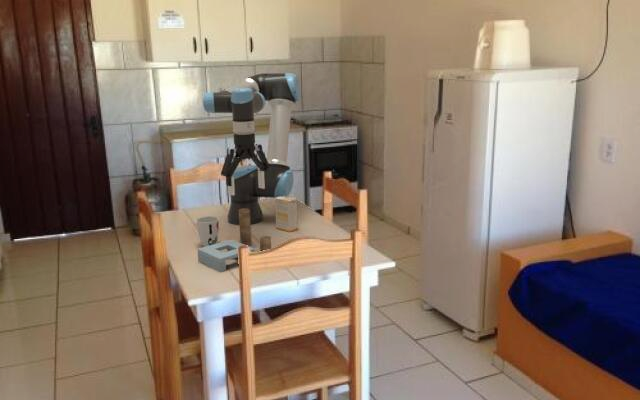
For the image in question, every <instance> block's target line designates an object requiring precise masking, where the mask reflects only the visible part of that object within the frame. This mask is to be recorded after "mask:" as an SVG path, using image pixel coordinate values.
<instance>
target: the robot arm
mask: <svg viewBox="0 0 640 400" xmlns="http://www.w3.org/2000/svg"><path fill="white" fill-rule="evenodd" d="M301 95H302V93H301V85H300V80H299V78H298V76H297V74H295V73H290V72H289V73H288V72H283V73H282V72H280V73H278V72H277V73H276V72H273V73H270V72H269V73H268V72H267V73H265V72H264V73H263V72H262V73H257V74H254V75H251V76H250V75H249V76H248V77H246V78H243V79H241V80H240V81H239V83H238V84H235V85H232V86H230V87H228V88H226V89H223V90H220V91H218V92H215V91H212V92H205V94H204V95H203V98H202V105H203V109H204V111H205V112H206V113H209V114H232V132H233V144H234V148H231V147H230V148H227V149H226V155H225V156H226V157H225V160H224V162H223V164H222V165H223V166H222V169H221V171H220V175H221V176H223V177H225V184H226V186H227V191H228V195H229V196H230V206H229V210H228V213H227V222H228V223H230V224H233V225H239V209H243V208H247V209H250V225H252V224H253V225H254V224H257V223H260V222H262V221H263V220H264V213H263V211H262V208H261V205H260V202H259V198H273V199H275V198H277V197H280V196H286V197H289V196H290V194H291V192H292V189H293V187H294V177H295V175H294V171H292V170H291V166H290V165H289V164H288V154H289V153H288V150H289V142H290V141H289V140H290V139H289V138H290V130H291V116H292V110H293V108H295V107H296V103H297V102H298V101H300V99H301V97H302V96H301ZM266 101H267V102H268V105H269V106H270V108H271V109H270V117H269V118H270V119H269V129H268V130H269V131H268V141H267V142H268V143H267V151H266V155H265V153H264V150H263V145H262V144H259V143H256V134H255V114H257V113H259V112H261V111H262V110H263V109H264V108H265V105H266ZM255 152H256V153H255ZM248 159H249V160H251V161H252V162H253V163H254V165H252V164H251V165H244V166H243V165H242V166H239V164H240V163H241V162H242V161H245V160H248Z"/></svg>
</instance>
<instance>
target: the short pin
mask: <svg viewBox="0 0 640 400" xmlns="http://www.w3.org/2000/svg"><path fill="white" fill-rule="evenodd" d="M267 249H271V250H272V237H271V236H268V235H262V236H261V237H259V252H260V251H263V250H267Z"/></svg>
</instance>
